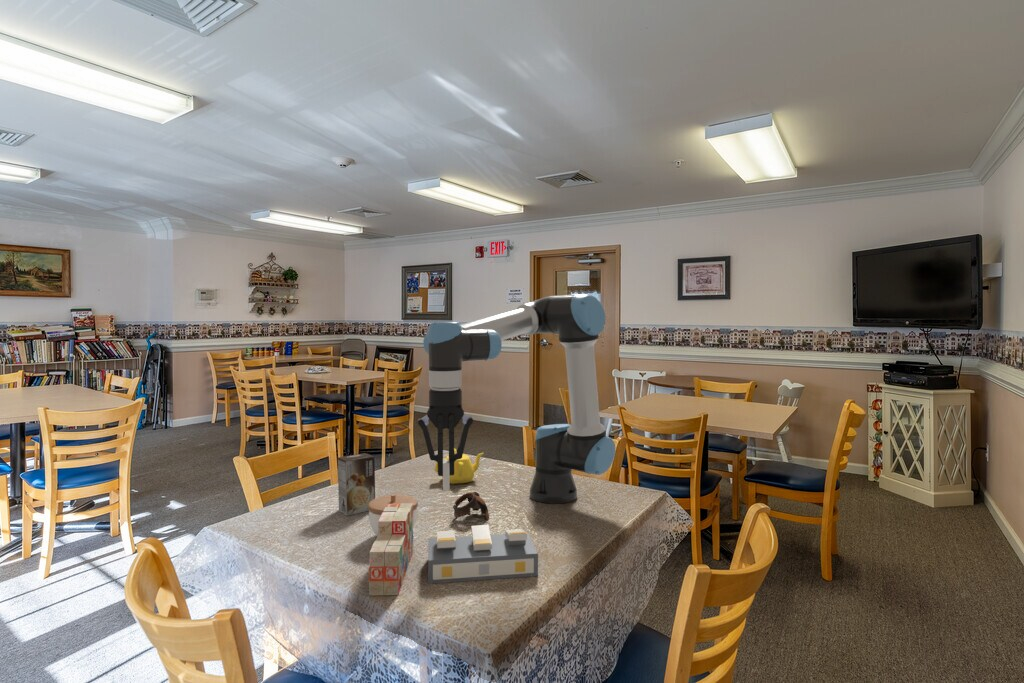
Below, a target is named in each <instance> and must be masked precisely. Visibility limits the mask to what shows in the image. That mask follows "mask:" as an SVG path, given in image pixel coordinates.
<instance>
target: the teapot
mask: <svg viewBox="0 0 1024 683" xmlns="http://www.w3.org/2000/svg"><path fill="white" fill-rule="evenodd" d="M455 453H457V448H455V447H454V454H455ZM484 454H485V452H480V453H478V454H477V455H476V457H475V462H474V463H472V461H471V459H470V457H469V455H467V454H464V453H463V455H462V458H461V459H458V460H456V461H455V462H454V475H450V484H456V485H458V484H467V483H471V482H472V481H473V479H474V477H475V473H476V472H477V471H478V470H479V466H480V459H481V457H482V456H483V455H484ZM443 460H449V454H448V455H447V456H446V457H445V458H443ZM434 471H435V472H436V473H437V474H438V463H437V461H435V466H434ZM441 477H442V478H443V476H441Z"/></svg>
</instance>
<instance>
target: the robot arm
mask: <svg viewBox="0 0 1024 683" xmlns="http://www.w3.org/2000/svg"><path fill="white" fill-rule="evenodd" d="M598 299H599V298H597V297H595V296H594V295H592V294H582V293H580V294H579V293H578V294H565V295H549V296H546V297H542V298H539V299H535V300H532V301H529V302H527V303H526V302H525V303H523V304H520V305H518V306H517V307H516V309H513V310H509V311H506V312H502V313H497V314H495V315H491V316H488V317H483V318H480V319H479V318H478V319H476V320H472V321H469V322H464V323H460V322H459V321H433V322H431V323H430V324H429V327H428V331H427V332H426V334H425V335H424V338H423V342H422V344H423V350H424V351H425V353H426V354H427V355H428V387H429V388H430V389H429V390H428V410H427V411H426V415H424V416H423V417H420V418H418V420H417V424H418V425H419V427H420V428H421V430H422V433H423V437H424V441H425V445H426V449H427V452H428V457H429V460H430V461H434V462H436V461H437V463H438V473H437V475H438V476H439V477H442V476H443V477H442V491H443V492H450V491H451V490H450V488H451V486H450V475H454V462H455V461H456V460H458V459H461V458H462V455H463V454H464V451H465V446H466V442H467V438H468V433H469V430H470V428H471V426H472V424H473V422H474V419H473V416H470V415H468V414H466V413H465V411H464V409H463V398H462V397H463V396H462V395H463V392H462V389H461V387H462V385H463V384H462V383H463V382H462V381H463V380H462V377H463V376H462V373H463V372H462V368H463V367H462V366H463V365H462V362H473V361H474V362H475V361H488V360H494V359H496V358H497V357H498V356H499V355H500V353H501V352H502V345H503V344H502V341H505V340H508V339H511V338H514V337H515V338H516V337H518V336H522V335H525V336H532V335H537V334H554V335H558V341H559V342H558V343H559V344H561V345H562V346H563V347H564V351H565V352H564V354H565V362H566V363H565V366H566V374H567V375H566V376H567V377H566V378H567V385H568V386H567V387H568V396H569V397H568V398H569V399H568V400H569V409H570V421H571V422H570V423H571V424H569V423H555V424H547V425H542V426H539V427H538V428H536V431H535V439H534V441H535V442H534V443H535V444H534V445H535V446H534V447H535V448H534V450H535V451H534V452H535V472H534V476H533V479H532V482H531V485H530V488H529V497H530V498H531V499H532V500H534V501H536V502H540V503H546V504H566V503H567V504H568V503H569V502H572V501H575V500H577V498H578V490H577V486H576V483H575V480H574V477H573V472H572V470H574V471H578V472H581V473H585V474H587V475H595V476H596V475H597V476H600V475H603V474H605V473H606V472H608V470H609V469H610V467H611V466H612V464H613V462H614V459H615V456H616V444H615V441H614V440H613V438H611V437H609V436H607V430H606V426H605V425H604V424H602V423H601V419H600V406H599V393H598V380H597V379H598V378H597V367H596V366H597V365H596V354H595V344H596V343H597V341H598V340H599V339H600V338H599V334H601V333H602V332H603V331H604V329H605V325H606V320H607V319H606V312H605V308H604V306H603V304H602V302H601V301H600V300H598ZM461 420H462V421H461ZM429 421H430V422H431V423H432V424H433V426H435V428H437V429H436V430H437V453H435V450H434V446H433V442H432V437H431V434H430V429H429V427H428V425H429V424H430V422H429ZM460 421H461V422H462V424H463V425H462V429H461V432H460V436H459V441H458V446H457V448H456V452H457V453H455V454H454V448H455V428H456V427H457V425H458V424H459V423H460ZM444 429H447V430H448V455H449V460H443V459H444Z"/></svg>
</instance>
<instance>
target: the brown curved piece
mask: <svg viewBox="0 0 1024 683" xmlns="http://www.w3.org/2000/svg"><path fill="white" fill-rule="evenodd" d="M466 500H467V502H468V503H466V504H465V505H463V506H460V505H461V504H462V503H463V502H464V501H466ZM459 506H460V507H459ZM452 509H453V510H454V512H453V513H454V514H453V515H454V517H455V518H456V519H458V518H460V517H465V516H470V517H471V516H472V514H471V511H473V512H474V511H476V512H478V511H479V510H480V514H481V515H484V516H485V519H486V521H489V519H490V513H489V509H488V506H487V504H486V502H485V500H484V499H483V498H482V497H481V496H480V494H479V492H477V491H474V492H467V493H464V494H462V495H460V496H459V497H458V498H457V499H456V500H455V502H454V505H453V506H452Z"/></svg>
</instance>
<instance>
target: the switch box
mask: <svg viewBox="0 0 1024 683" xmlns="http://www.w3.org/2000/svg"><path fill="white" fill-rule="evenodd" d="M526 533H527V540H519V541H509V540H508V539H507V538H506V537H505V533H500V534H499V533H497V534H490V536H491V542H492V550H475V551H474V548H473V540H472V535H465V536H464V535H463V536H455V539H456V547H449V548H437V537H429V538H427V565H428V566H427V584H442V583H454V582H467V581H482V580H497V579H513V578H526V577H527V578H528V577H538V576H539V553H538V551H537V548H536V546H535V544H534V543H533V542H534V541H533V540H532V537H531V535H530V533H529V532H526Z"/></svg>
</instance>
